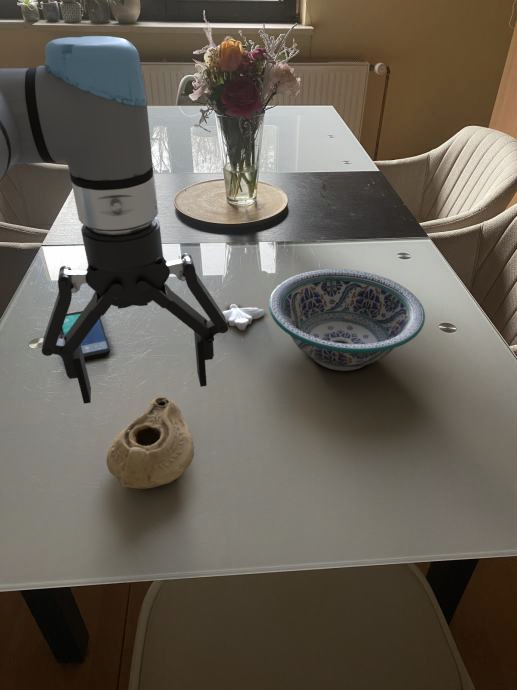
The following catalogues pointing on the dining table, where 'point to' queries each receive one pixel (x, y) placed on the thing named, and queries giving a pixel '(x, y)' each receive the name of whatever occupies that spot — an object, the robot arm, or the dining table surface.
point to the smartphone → (89, 337)
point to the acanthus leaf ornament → (241, 316)
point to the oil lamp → (152, 447)
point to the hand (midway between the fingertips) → (145, 387)
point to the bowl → (346, 316)
